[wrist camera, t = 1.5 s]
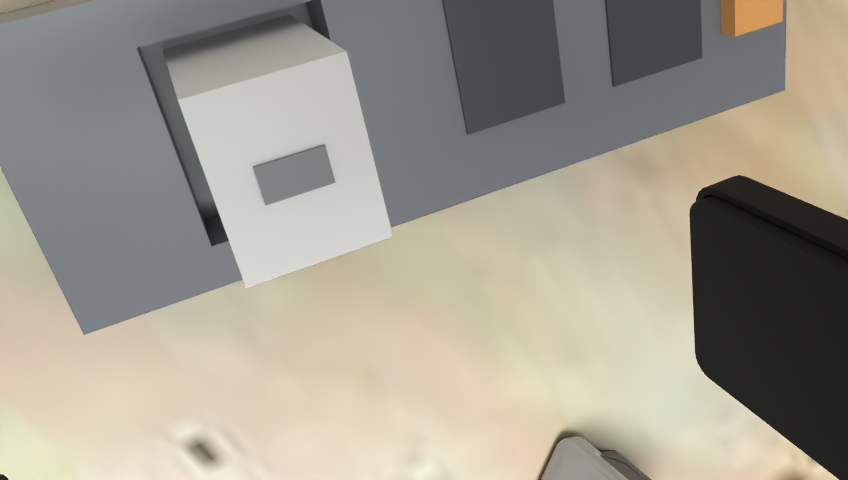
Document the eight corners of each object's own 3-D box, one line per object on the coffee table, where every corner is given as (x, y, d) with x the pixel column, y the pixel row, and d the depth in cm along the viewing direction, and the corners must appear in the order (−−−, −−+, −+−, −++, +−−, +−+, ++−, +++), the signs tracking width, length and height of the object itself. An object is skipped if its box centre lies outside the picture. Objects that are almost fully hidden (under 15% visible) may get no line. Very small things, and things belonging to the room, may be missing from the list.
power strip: (726, -169, 27) (806, -179, 24) (729, 74, 31) (798, 93, 28) (-41, 24, 22) (-69, 45, 18) (87, 291, 26) (83, 346, 22)
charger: (289, 14, 24) (348, 52, 18) (330, 160, 26) (394, 238, 20) (162, 49, 23) (178, 101, 17) (216, 197, 25) (246, 290, 19)
